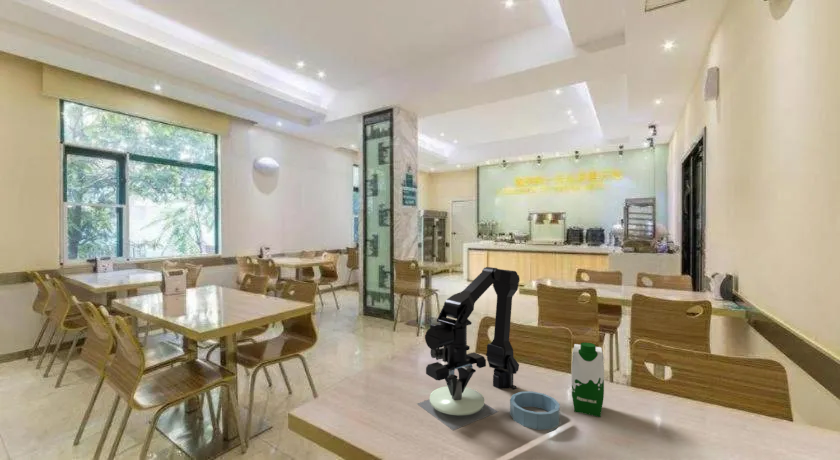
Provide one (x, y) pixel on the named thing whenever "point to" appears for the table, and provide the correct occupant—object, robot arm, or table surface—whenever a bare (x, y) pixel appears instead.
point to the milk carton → (587, 379)
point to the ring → (535, 418)
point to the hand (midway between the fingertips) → (456, 394)
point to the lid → (457, 400)
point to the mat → (457, 420)
